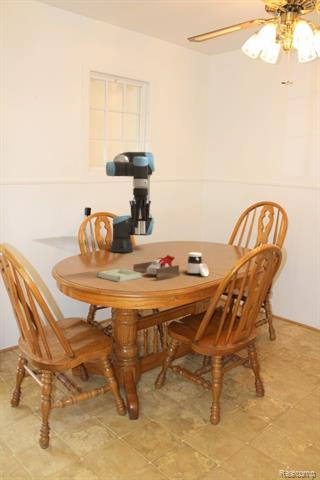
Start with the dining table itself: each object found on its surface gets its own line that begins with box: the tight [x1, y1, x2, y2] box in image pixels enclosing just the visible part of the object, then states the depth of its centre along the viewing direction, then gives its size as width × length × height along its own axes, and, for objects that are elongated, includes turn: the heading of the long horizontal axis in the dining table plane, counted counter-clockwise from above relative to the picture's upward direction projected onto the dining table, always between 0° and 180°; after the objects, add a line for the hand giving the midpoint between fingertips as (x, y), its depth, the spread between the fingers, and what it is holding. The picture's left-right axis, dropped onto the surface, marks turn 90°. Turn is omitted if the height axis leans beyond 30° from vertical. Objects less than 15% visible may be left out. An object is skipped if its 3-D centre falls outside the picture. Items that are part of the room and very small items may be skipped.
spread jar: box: [187, 252, 209, 278], centre depth 222 cm, size 12×11×12 cm
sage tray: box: [97, 268, 143, 283], centre depth 213 cm, size 17×15×3 cm
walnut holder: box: [132, 261, 181, 282], centre depth 218 cm, size 18×17×6 cm
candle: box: [146, 254, 175, 276], centre depth 218 cm, size 9×11×15 cm
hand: (140, 233), depth 213 cm, fingers open, 3 cm apart
